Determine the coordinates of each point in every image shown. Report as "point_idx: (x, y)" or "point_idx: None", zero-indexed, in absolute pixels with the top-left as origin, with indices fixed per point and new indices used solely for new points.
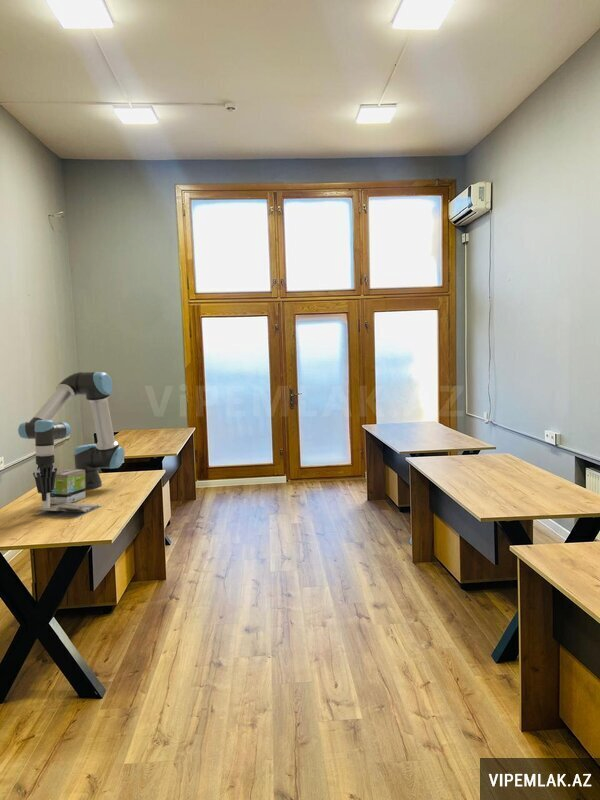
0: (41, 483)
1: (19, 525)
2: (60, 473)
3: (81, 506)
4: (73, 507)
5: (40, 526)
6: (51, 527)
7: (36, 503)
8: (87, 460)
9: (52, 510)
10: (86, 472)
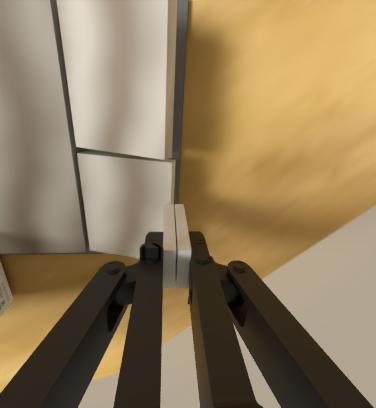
0: (301, 340)
1: (295, 219)
2: None
3: (8, 88)
4: (174, 18)
5: (318, 128)
6: (341, 60)
7: (23, 344)
8: None
9: (174, 179)
10: None
